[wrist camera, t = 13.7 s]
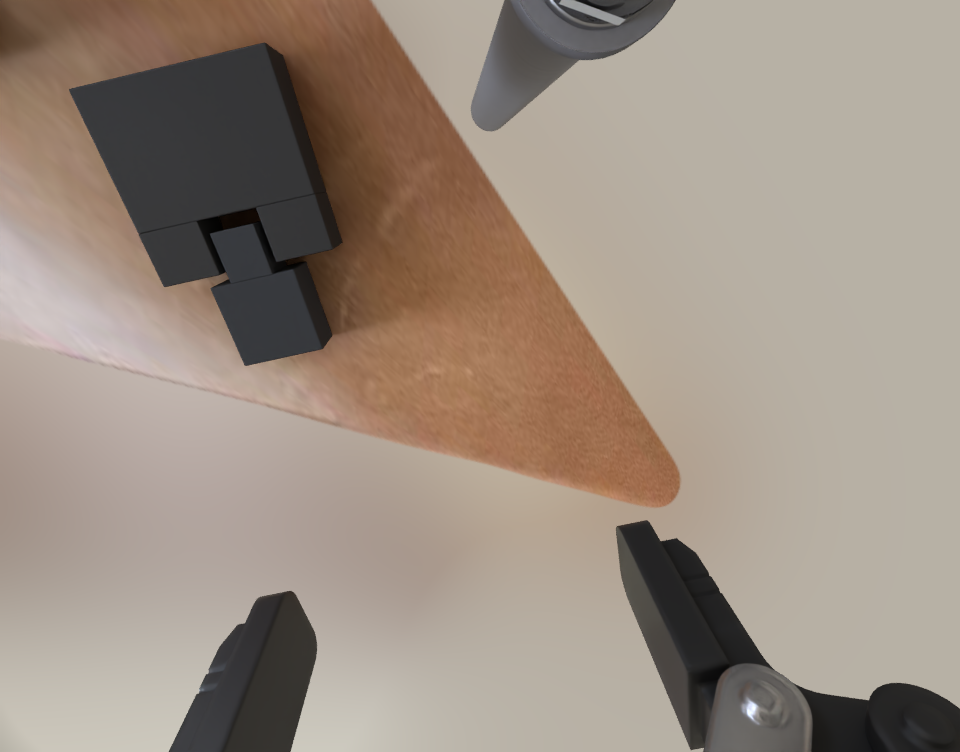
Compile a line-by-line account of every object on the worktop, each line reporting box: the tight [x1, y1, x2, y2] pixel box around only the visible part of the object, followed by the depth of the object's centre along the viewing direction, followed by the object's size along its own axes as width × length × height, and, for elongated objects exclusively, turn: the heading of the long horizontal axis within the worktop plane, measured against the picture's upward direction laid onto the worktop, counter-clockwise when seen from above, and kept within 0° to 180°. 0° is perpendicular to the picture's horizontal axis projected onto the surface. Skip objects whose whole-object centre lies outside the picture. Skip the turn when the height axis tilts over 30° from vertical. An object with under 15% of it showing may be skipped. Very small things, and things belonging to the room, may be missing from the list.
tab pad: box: [210, 221, 332, 366], centre depth 35 cm, size 9×6×3 cm, turn 12°
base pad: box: [69, 43, 342, 287], centre depth 31 cm, size 12×12×3 cm
